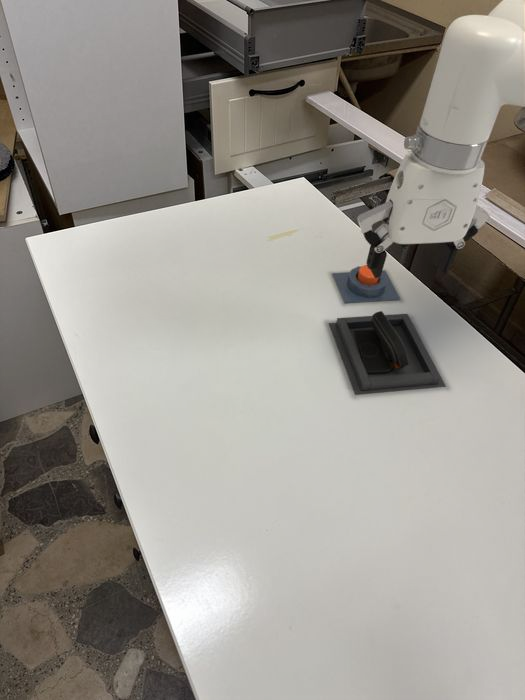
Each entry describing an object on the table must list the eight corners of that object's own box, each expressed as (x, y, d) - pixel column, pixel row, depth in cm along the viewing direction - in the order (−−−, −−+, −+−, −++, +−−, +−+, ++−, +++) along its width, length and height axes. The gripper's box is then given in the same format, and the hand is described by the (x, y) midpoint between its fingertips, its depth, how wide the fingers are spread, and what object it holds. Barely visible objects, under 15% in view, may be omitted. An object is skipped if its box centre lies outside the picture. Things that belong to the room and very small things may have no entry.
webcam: (406, 374, 78) (417, 347, 73) (366, 374, 77) (374, 347, 73) (391, 331, 84) (400, 304, 80) (353, 331, 83) (360, 304, 79)
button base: (383, 275, 96) (387, 262, 94) (398, 304, 91) (403, 290, 88) (331, 278, 94) (334, 264, 92) (343, 307, 89) (346, 294, 87)
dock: (408, 321, 88) (412, 310, 86) (444, 390, 77) (449, 379, 76) (327, 327, 85) (329, 316, 83) (353, 399, 75) (357, 388, 73)
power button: (374, 272, 92) (376, 264, 91) (380, 285, 90) (383, 277, 88) (354, 273, 92) (356, 265, 90) (360, 286, 89) (362, 278, 88)
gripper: (387, 164, 55) (355, 291, 67) (534, 161, 58) (477, 283, 70) (364, 132, 60) (338, 256, 72) (501, 131, 63) (453, 250, 75)
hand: (407, 269), depth 71 cm, fingers open, 9 cm apart
